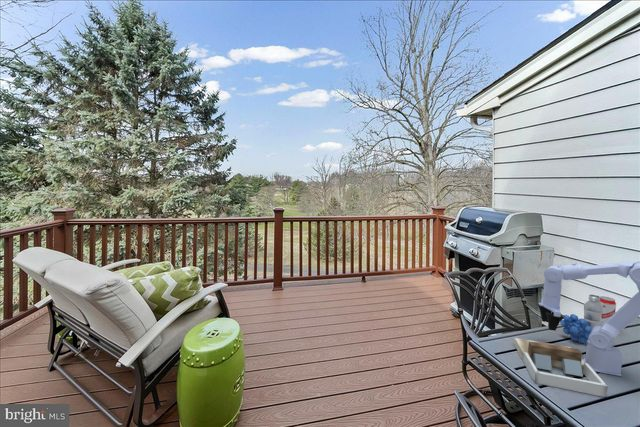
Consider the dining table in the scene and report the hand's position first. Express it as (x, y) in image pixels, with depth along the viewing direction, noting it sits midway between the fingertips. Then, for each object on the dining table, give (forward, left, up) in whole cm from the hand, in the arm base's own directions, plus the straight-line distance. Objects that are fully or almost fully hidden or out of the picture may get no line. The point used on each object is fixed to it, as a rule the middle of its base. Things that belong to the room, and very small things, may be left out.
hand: (548, 325), depth 124 cm
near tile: (-3, +16, -8) cm, 18 cm away
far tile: (+7, +15, -8) cm, 19 cm away
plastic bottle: (-22, -17, -11) cm, 30 cm away
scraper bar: (+2, +13, -7) cm, 15 cm away
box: (+2, +21, -10) cm, 23 cm away
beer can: (-32, -28, -11) cm, 44 cm away
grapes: (-14, -11, -11) cm, 21 cm away
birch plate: (+2, +8, -10) cm, 13 cm away
